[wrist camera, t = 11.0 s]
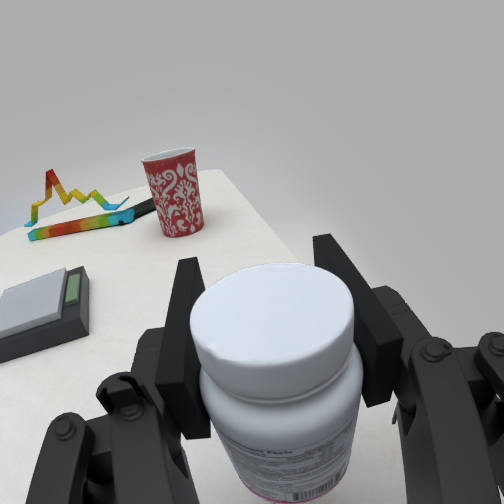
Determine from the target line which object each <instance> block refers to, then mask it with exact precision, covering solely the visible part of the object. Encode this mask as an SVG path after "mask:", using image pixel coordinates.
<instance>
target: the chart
mask: <svg viewBox="0 0 504 504" xmlns="http://www.w3.org/2000/svg"><path fill="white" fill-rule="evenodd" d="M52 184H53V186H54V188H55V190H56V191H57V193H58V195H59V196H60V199H61V200H62V202H63V204H64V205H65V204H66V203H68V202H70V201H71V199H72V197H73V196H74V197H75V198H76V199H77V200H79V201H80V202H81V203H85V202H86V201H87V200H89V198H90V197H91V196H92V197H93V198H94V199H95V200H96V201H97V202H98V204H99V205H100V206H101V207H102V208H103V209H104V210H117V209H118V208H119V207H120V206H121V205H122V204H123V203H124V202H125V201H127V200H128V199H129V197H128V198H126V199H125V200H124V201H123V202H122V203H121V204H109V203H108V202H107V201H106V200H105V199H104V198H103V197H102V196H101V195H100V194H99V193H98V192H97V191H96V190H94V191H92V192H91V193H90V194H89V195H88V196H87V197H86V196H85V195H83V194H82V193H81V192H79V191H78V190H77V189H74V190H73V191H71V192H70V193H69V195H68V196H67V194H66V192H65V190H64V189H63V187H62V185H61V183H60V182H59V180H58V178H57V176H56V175H55V173H54V171H53V169H51V170H49V171H47V172H46V190H45V197H46V198H45V200H44V201H37V202H36V203H34V204H32V209H31V221H29V222H28V223H27V224H25V225H24V227H32V226H33V225H35V224H36V223H37V221H38V206H40V205H42V204H43V203H45V202H46V201H48V200H49V199H50V198H51V197H52ZM134 214H135V213H134V210H133V209H128V210H123V211H117V212H112V213H107V214H102V215H97V216H92V217H87V218H83V219H78V220H73V221H69V222H64V223H59V224H55V225H51V226H46V227H41V228H37V229H33V230H32V231H31V232H29V233H28V234H27V235H28V237H29V240H30V241H33V240H38V239H43V238H48V237H53V236H58V235H63V234H68V233H73V232H79V231H84V230H89V229H95V228H100V227H106V226H111V225H117V224H118V221H124V223H129V222H131V221H132V220H133V219H134V218H133V215H134Z"/></svg>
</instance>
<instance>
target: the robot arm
mask: <svg viewBox="0 0 504 504" xmlns="http://www.w3.org/2000/svg"><path fill="white" fill-rule="evenodd" d="M313 248H314V263H315V267H319V268H322V269H324V270H326V271H328V272H330V273H332V274H334V275H335V276H337V277H338V278H340V279H341V280H342V281H343V282H344V283H345V285H346V286H347V287H348V289H349V291H350V293H351V295H352V298H353V304H354V329H353V332H354V334H353V342H354V343H355V345H356V346H357V348H358V350H359V352H360V355H361V359H362V363H363V384H362V392H361V394H362V396H363V399H364V401H365V403H366V406H367V408H369V407H372V406H375V405H379V404H382V403H385V402H388V401H390V399H391V395H392V391H394V393H395V395H396V397H397V399H398V402H397V405H396V408H395V412H394V415H393V418H392V424H395V423H396V420H398V427H399V433H400V441H401V448H402V456H403V464H404V473H405V483H406V494H407V504H501V499H500V494H499V489H498V486H499V488H500V490H501V492H502V494H503V496H504V334H503V333H500V332H490V333H486V334H485V335H484V336H482V337H481V339H480V341H479V344H478V346H475V347H463V348H453V347H452V345H451V344H450V343H449V342H447V341H446V340H444V339H442V338H438V337H432V336H431V335H430V333H429V332H428V331H427V329H426V328H425V327H424V325H423V324H422V323H421V321H420V320H419V319H418V317H417V316H416V315H415V314H414V312H413V311H412V310H411V309H410V307H409V306H408V305H407V303H405V301H404V299H403V298H402V297H401V296H400V295H399V293H398V292H397V291H395V290H393V289H391V288H390V287H388V286H381V287H377V288H373V289H371V288H370V287H369V285H368V284H367V282H366V281H365V280H364V278H363V277H362V276H361V274H360V273H359V271H358V270H357V269H356V267H355V266H354V264H353V263H352V262H351V260H350V259H349V258H348V256H347V255H346V254H345V252H344V251H343V250H342V248H341V247H340V246H339V244H338V243H337V242H336V240H335V239H334V238H333V237H332V235H331V234H324V235H319V236H313ZM204 291H205V286H204V282H203V279H202V275H201V271H200V267H199V263H198V259H197V257H192V258H187V259H181V260H179V261H178V266H177V270H176V275H175V279H174V284H173V288H172V293H171V298H170V303H169V307H168V312H167V317H166V322H165V327H161V328H154V329H147V330H146V331H145V332H144V334H143V335H142V336H141V338H140V339H139V341H138V344H137V348H136V353H135V356H134V362H133V364H132V368H131V372H119V373H116V374H114V375H111V376H109V377H108V378H106V379H105V380H104V381H103V382H102V383H101V384H100V386H99V387H98V388H97V392H96V397H97V399H98V400H99V402H100V403H101V404H102V406H103V407H104V409H105V410H106V411H107V413H108V414H106V415H104V416H101V417H98V418H94V419H91V420H87V421H85V420H84V419H83V418H82V417H81V416H80V415H79V414H76V413H72V412H69V413H63V414H61V415H59V416H57V417H56V418H55V419H54V420H53V421H52V422H51V424H50V425H49V427H48V429H47V432H46V435H45V438H44V441H43V444H42V447H41V450H40V453H39V457H38V460H37V463H36V467H35V470H34V473H33V477H32V480H31V484H30V488H29V492H28V495H27V499H26V503H25V504H200V503H199V500H198V496H197V493H196V490H195V486H194V483H193V479H192V476H191V472H190V469H189V465H188V461H187V458H186V454H185V451H184V449H183V447H182V446H181V444H180V442H181V432H182V434H183V435H184V437H185V439H186V440H191V439H204V438H211V424H210V417H209V415H208V412H207V410H206V408H205V405H204V403H203V399H202V396H201V392H200V384H199V378H200V370H201V366H202V365H201V363H200V360H199V357H198V354H197V350H196V347H195V343H194V340H193V337H192V334H191V329H190V314H191V311H192V308H193V306H194V304H195V302H196V301H197V299H198V298H199V297H200V295H201V294H202V293H203V292H204ZM496 394H497V395H498V396H499V397H500V399H499V398H498V397H497V395H496Z"/></svg>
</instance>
